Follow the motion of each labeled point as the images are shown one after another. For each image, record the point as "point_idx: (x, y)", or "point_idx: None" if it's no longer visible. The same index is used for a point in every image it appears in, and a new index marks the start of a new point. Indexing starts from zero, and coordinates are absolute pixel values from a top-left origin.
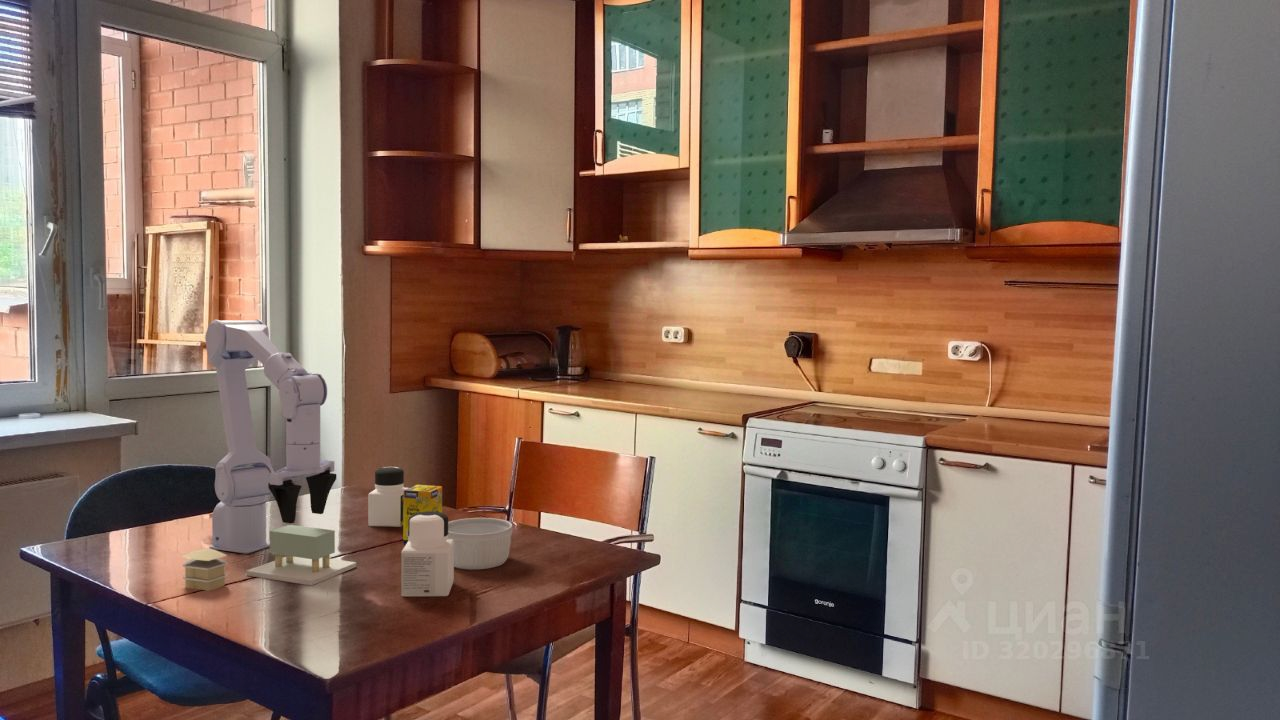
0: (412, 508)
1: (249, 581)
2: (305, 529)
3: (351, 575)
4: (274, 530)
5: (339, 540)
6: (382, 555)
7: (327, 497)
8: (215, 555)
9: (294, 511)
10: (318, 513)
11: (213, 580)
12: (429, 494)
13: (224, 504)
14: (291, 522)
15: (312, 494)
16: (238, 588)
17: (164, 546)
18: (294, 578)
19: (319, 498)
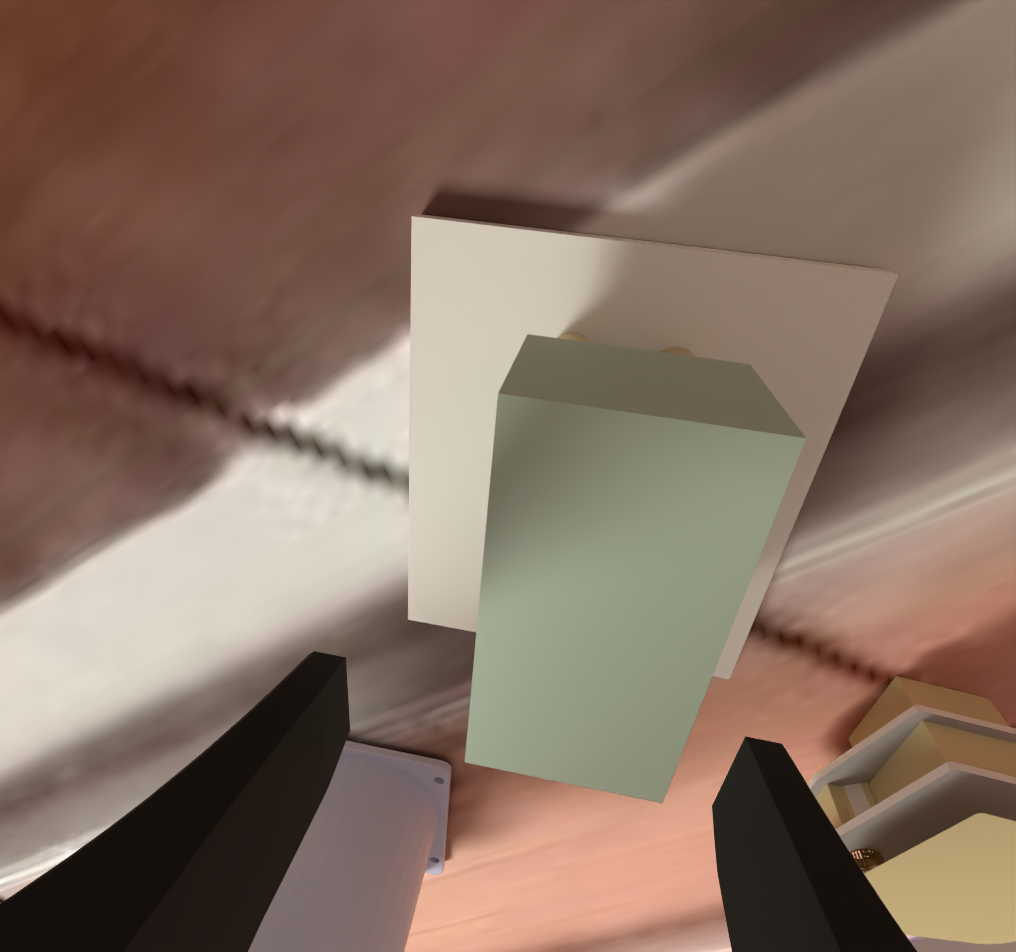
0: None
1: (819, 614)
2: (550, 632)
3: (605, 126)
4: (643, 784)
5: (97, 552)
6: (142, 189)
7: (174, 781)
8: (985, 852)
9: (825, 865)
10: (346, 682)
11: (1003, 726)
12: None
13: None
14: (786, 755)
15: (243, 935)
16: (948, 609)
17: (466, 945)
18: (840, 413)
19: (252, 832)
